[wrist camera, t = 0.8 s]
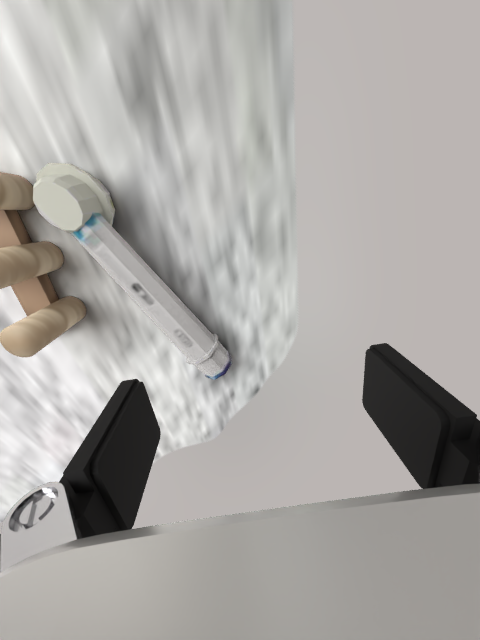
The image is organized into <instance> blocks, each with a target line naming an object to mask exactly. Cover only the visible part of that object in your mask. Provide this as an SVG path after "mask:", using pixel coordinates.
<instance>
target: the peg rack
mask: <svg viewBox="0 0 480 640" xmlns="http://www.w3.org/2000/svg"><path fill="white" fill-rule="evenodd" d="M34 205H35V203H34V201H33V186H32V185H31V183H30V182H29V181H28V180H26V179H25V178H23V177H21V176H19V175H14V174H8V173H2V172H0V289H2V288H5V287H8V286H10V285H11V287H12V289H13V291H14V293H15V294H16V296H17V298H18V300H19V302H20V304H21V305H22V307H23V309H24V311H25V313H26V315H27V317H26V318H24V319H22V320H20V321H18V322H16V323H14V324H12V325H10V326H8V327H7V328H5V329H3V330H2V331H1V333H0V341H1V344H2V345H3V347H4V348H5V349H6V350H7V351H8V352H10V353H11V354H13V355H16V356H19V357H30V356H33V355H34V354H36V353H37V352H38V351H40V350H41V349H42V348H44V347H45V346H46V345H48V344H49V343H51V342H52V341H53V340H55V339H56V338H57V337H59V336H60V335H61V334H63V333H64V332H65V331H67V330H68V329H69V328H71V327H72V326H73V325H75V324H76V323H77V322H79V321H80V320H81V319H83V318H84V317H85V315H86V307H85V305H84V303H83V302H82V301H81V300H79V299H78V298H75V297H72V296H67V297H64V298H62V299H60V300H59V298H58V296H57V294H56V292H55V290H54V288H53V286H52V284H51V281H50V279H49V277H48V275H47V273H49V272H52V271H54V270H57V269H59V268H61V266H62V265H63V262H64V257H63V254H62V252H61V250H60V249H59V248H58V247H57V246H56V245H54V244H53V243H50V242H47V241H41V242H35V243H32V241H31V239H30V237H29V235H28V233H27V231H26V229H25V227H24V225H23V223H22V220H21V218H20V216H19V214H18V212H17V210H28V209H31V208H32V207H34Z"/></svg>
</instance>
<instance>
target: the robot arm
mask: <svg viewBox="0 0 480 640" xmlns="http://www.w3.org/2000/svg"><path fill="white" fill-rule="evenodd" d="M362 400H363V406H364V408H365V410H366V411H367V413H368V414H369V416H370V417H371V418H372V420H373V421H374V423H375V424H376V425H377V427H378V428H379V430H380V431H381V432H382V434H383V435H384V437H385V438H386V439H387V441H388V442H389V444H390V445H391V446H392V448H393V449H394V450H395V452H396V454H397V455H398V456H399V457H400V459H401V460H402V462H403V463H404V465H405V466H406V467H407V469H408V470H409V472H410V473H411V475H412V476H413V477H414V479H415V480H416V482H417V483H418V484H419V486H420V487H421V488H423V489H419V490H412V491H411V490H410V491H403V492H395V493H388V494H380V495H372V496H366V497H358V498H349V499H342V500H335V501H327V502H320V503H312V504H305V505H297V506H290V507H283V508H275V509H269V510H261V511H254V512H247V513H239V514H232V515H225V516H218V517H211V518H204V519H197V520H191V521H184V522H176V523H170V524H162V525H155V526H149V527H143V528H137V529H132V527H133V525H134V522H135V519H136V516H137V512H138V509H139V506H140V502H141V499H142V496H143V492H144V489H145V486H146V483H147V479H148V476H149V473H150V469H151V466H152V463H153V460H154V456H155V453H156V450H157V446H158V443H159V440H160V428H159V425H158V422H157V420H156V417H155V414H154V411H153V408H152V406H151V403H150V400H149V397H148V394H147V392H146V389H145V386H144V384H143V382H139V380H138V379H133V380H126V381H122V382H121V383H120V385H119V386H118V388H117V390H116V391H115V393H114V394H113V396H112V397H111V399H110V400H109V402H108V404H107V405H106V407H105V408H104V410H103V411H102V413H101V415H100V416H99V418H98V419H97V421H96V422H95V424H94V425H93V427H92V429H91V430H90V432H89V433H88V435H87V436H86V438H85V440H84V441H83V443H82V444H81V446H80V447H79V449H78V450H77V452H76V454H75V455H74V457H73V458H72V460H71V461H70V463H69V465H68V466H67V468H66V469H65V471H64V472H63V474H64V475H63V477H62V478H61V480H60V481H59V482H49V483H46V484H43V485H40V486H38V487H37V488H35V489H33V490H31V491H30V492H29V493H27V494H26V495H24V496H23V497H22V498H21V499H20V500H19V501H18V502H17V503H16V504H15V505H14V506H13V507H12V508H11V510H10V511H9V512H8V513H7V515H6V517H5V519H4V521H3V524H2V528H1V534H0V640H480V421H479V420H478V419H477V418H476V417H477V415H476V414H475V413H474V412H473V411H471V410H470V409H469V408H468V407H466V406H465V405H464V404H463V403H461V402H460V401H459V400H458V399H456V398H455V397H454V396H453V395H451V394H450V393H449V392H448V391H446V390H445V389H444V388H442V387H441V386H440V385H439V384H438V383H436V382H435V381H434V380H433V379H431V378H430V377H429V376H428V375H426V374H425V373H424V372H422V371H421V370H420V369H419V368H417V367H416V366H415V365H414V364H412V363H411V362H410V361H409V360H407V359H406V358H405V357H404V356H402V355H401V354H400V353H399V352H397V351H396V350H395V349H394V348H392V347H391V346H390V345H388V344H387V343H384V344H377V345H371V346H370V349H368V350H367V351H366V357H365V371H364V386H363V399H362Z"/></svg>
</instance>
